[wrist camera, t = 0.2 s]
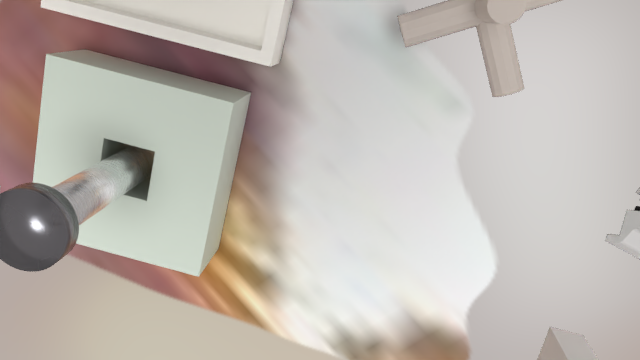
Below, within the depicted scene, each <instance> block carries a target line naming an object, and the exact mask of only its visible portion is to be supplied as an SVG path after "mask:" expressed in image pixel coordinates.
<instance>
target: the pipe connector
mask: <svg viewBox="0 0 640 360" xmlns="http://www.w3.org/2000/svg"><path fill="white" fill-rule="evenodd" d="M558 1H562V0H448V1H444V2H441V3H438V4H435V5H432V6H428V7H425V8H422V9H419V10H416V11H412V12H409V13H406V14H403V15H399V16H397V17H398V21H399V25H400V29H401V33H402V37H403V40H404V44H405V47H409V46H412V45H416V44H419V43H422V42H426V41H429V40H432V39H436V38H439V37H442V36H445V35H449V34H452V33H455V32H459V31H462V30H465V29H468V28H472V27H475V26H476V28H477V32H478V36H479V41H480V45H481V49H482V54H483V58H484V62H485V66H486V71H487V75H488V79H489V84H490V88H491V92H492V96H493V97H501V96H506V95H510V94H513V93H517V92H520V91H521V90H523V89H524V85H523V80H522V76H521V72H520V67H519V63H518V58H517V53H516V48H515V44H514V39H513V35H512V30H511V26H510V24H511V23H514V22H516V21H517V20H518V19H519V18H520V17H521V16H522V15H523V13H524V12H525V11H528V10H532V9H535V8H538V7H541V6H545V5H548V4H552V3H555V2H558Z"/></svg>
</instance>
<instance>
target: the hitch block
mask: <svg viewBox="0 0 640 360" xmlns="http://www.w3.org/2000/svg"><path fill="white" fill-rule="evenodd" d="M250 96H251V92H247V91H243V90H239V89H236V88H232V87H228V86H224V85H220V84H216V83H213V82H209V81H205V80H201V79H197V78H194V77H190V76H186V75H182V74H178V73H174V72H171V71H167V70H163V69H159V68H155V67H151V66H148V65H144V64H140V63H136V62H132V61H128V60H125V59H121V58H117V57H113V56H109V55H105V54H102V53H98V52H94V51H90V50H86V49H84V50H75V51H67V52H59V53H51V54H46V61H45V71H44V80H43V90H42V99H41V109H40V118H39V128H38V137H37V147H36V156H35V166H34V176H33V183H41V184H45V185H48V186H50V187H53V186H55V185H57V184H59V183H61V182H63V181H64V180H66V179H68V178H70V177H72V176H74V175H76V174H78V173H80V172H82V171H83V170H85V169H87V168H89V167H91V166H93V165H95V164H97V163H99V162H101V161H102V160H104V159H106V158H108V157H110V156H112V155H114V154H116V153H118V152H120V151H122V150H123V149H125V148H127V147H129V146H131V145H132V146H136V147H139V148H143V149H147V150H151V151H155V155H154V161H153V167H152V173H151V176H149V177H148V178H146V179H145V180H143V181H142V182H141V183H139V184H138V185H136V186H135V187H133V188H132V189H131V190H129V191H128V192H126V193H125V194H123V195H122V196H121V197H119V198H118V199H116V200H115V201H113V202H112V203H111V204H109V205H108V206H106V207H105V208H103V209H102V210H101V211H99V212H98V213H96V214H95V215H93V216H92V217H90V218H89V219H88V220H86V221H85V222H83V223H82V224H80V225H79V234H78V239H77V242H76V243H77V244H80V245H84V246H88V247H91V248H95V249H99V250H102V251H106V252H110V253H113V254H117V255H121V256H124V257H128V258H132V259H135V260H139V261H143V262H147V263H150V264H154V265H158V266H161V267H165V268H169V269H172V270H176V271H180V272H183V273H187V274H191V275H194V276H198V277H199V276H200V274H201V273H202V271H203V270H204V268H205V267H206V266H207V264H208V263H209V261H210V260H211V258H212V257H213V256H214V254H215V253H216V251H217V250H218V248H219V244H220V239H221V235H222V230H223V225H224V220H225V215H226V211H227V206H228V201H229V196H230V192H231V187H232V182H233V177H234V172H235V168H236V163H237V158H238V153H239V149H240V144H241V139H242V134H243V129H244V125H245V120H246V115H247V110H248V106H249V101H250Z"/></svg>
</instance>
